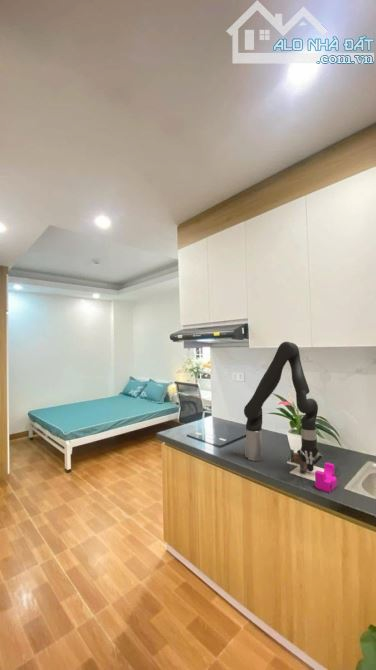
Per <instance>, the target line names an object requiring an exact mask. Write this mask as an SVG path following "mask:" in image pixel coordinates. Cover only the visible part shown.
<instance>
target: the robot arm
mask: <svg viewBox="0 0 376 670" xmlns="http://www.w3.org/2000/svg"><path fill="white" fill-rule="evenodd" d="M287 362H289V366H290V370H291V371H290V372H291V381H292V384H293V385H292V386H293V387H294V391H295V399H296V407H297V409H298V410H299V412H300V413H302V414H304V416H302V417H301V420H300V426H301V431H300V437H301V447H300V449H297V451H296V453H297V454H299V456H300V457H301V459H302V460H303V461H304V462H306V463H307V469H308V471H311V472H312V471H313V469H314V466H315V465H316V464H318V462H319V461H320V460H321V459H322V458H323V457H324V455H323V453H322V454H321V453H320V452H319V449H318V436H317V434H318V433H317V428H316V427H317V426H316V425H317V424H316V420H317V417H318V411H319V405H318V402H317V401H316V400H315V399H314V398H307V395H308V394H310V388H309V384H308V382H307V379H306V375H305V374H304V369H303V366H302V360H301V355H300V350H299V346H298V345H297V344H296V343H294V342H290V341H283V342H281V343H280V344H279V346H278V348H277V350H276V352H275V355H274V357H273V359H272V361H271V362H270V364H269V366H268V368H267V369H266V371H265V373H264V375H262V378H261V380H260V381H259V383H258V385H257V387H256V390H255V391H254V393H253V395H252V396H251V398H250V400H249V401H248V402H247V403H246V405H245V406H244V409H243V414H244V416H245V418H247V419H246V420H247V421H246V423H245V435H246V436H245V441H244V452H245V454H244V456H245V458H246V457H247V458H248V459H247V458H246V459H247V460H248V461H251V460H252V462H259V461H262V460H263V435H262V433H263V432H262V428H263V427H262V426H263V406H264V403H265V402H266V401H267V400H268V399H269V398H270V396H271V395H272V393H274V391H275V390H276V388H277V387H278V385H279V383H280V381H281V378H282V375H283V374H282V373H283V369H284V367H285V366H286V364H287ZM305 456H306V457H305ZM315 457H316V459H315Z"/></svg>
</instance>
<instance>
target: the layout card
mask: <svg viewBox="0 0 376 670" xmlns="http://www.w3.org/2000/svg"><path fill="white" fill-rule="evenodd" d="M286 464H289V465H291V466H295V468H294V469H292V470H291V471H289V474H291V475H293V476H297V477H300V478H303V479H307V480H309V481H312V482H315V472H316V471H317V470H318V471H321V472H324V469H325V468H322V467H319V466H316V465H313V466H314V469H313V471H312V472H311V471H308V469H307V470H305V471H304V473H301V472H300V464H298V463H294V462H291V459H289V460H287V462H286Z"/></svg>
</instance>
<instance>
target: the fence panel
mask: <svg viewBox="0 0 376 670" xmlns="http://www.w3.org/2000/svg"><path fill="white" fill-rule="evenodd" d="M305 470H307V463H306V462H304V461H303V460H300V472H301V473H304V471H305Z"/></svg>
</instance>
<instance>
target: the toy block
mask: <svg viewBox="0 0 376 670" xmlns="http://www.w3.org/2000/svg"><path fill="white" fill-rule="evenodd" d="M323 469H324V472H321V471H318V470H317V471H316V472H315V481H314V483H315V484H314V485H315V488H316V489H318V490H320V491H324V492H326V493H331V492H332V491H333V489H334V488H336V487H337V485H338V478H337V477H336V475H335V474H336V473H335V464H333V463H330V462H328V461H327V462H325V463H324V468H323Z"/></svg>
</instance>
